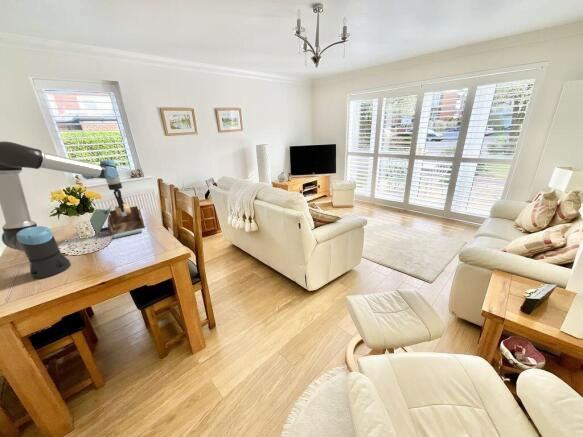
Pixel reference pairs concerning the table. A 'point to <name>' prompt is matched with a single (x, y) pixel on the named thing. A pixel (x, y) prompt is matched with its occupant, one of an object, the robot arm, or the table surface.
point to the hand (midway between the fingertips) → (124, 214)
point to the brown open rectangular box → (125, 221)
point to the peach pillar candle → (125, 209)
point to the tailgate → (127, 233)
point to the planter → (99, 218)
